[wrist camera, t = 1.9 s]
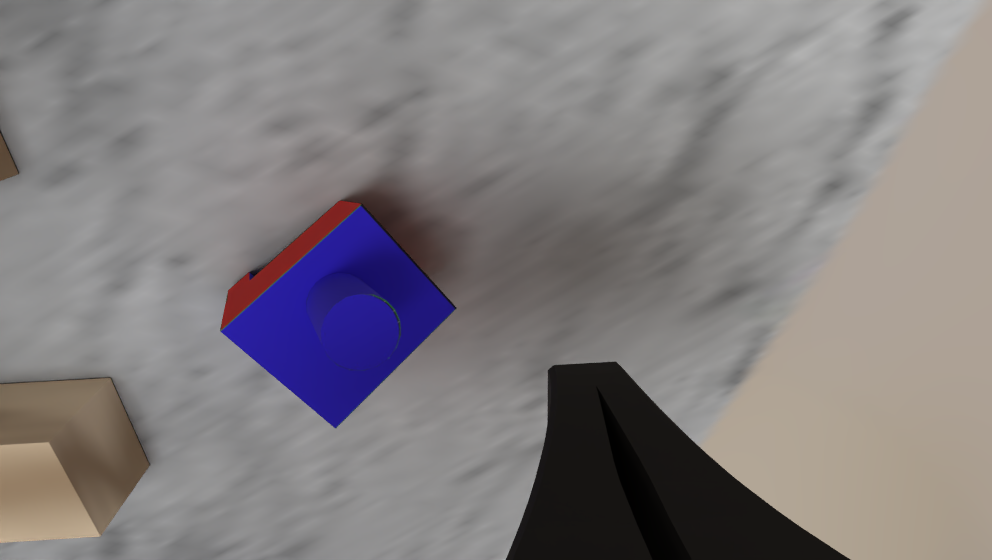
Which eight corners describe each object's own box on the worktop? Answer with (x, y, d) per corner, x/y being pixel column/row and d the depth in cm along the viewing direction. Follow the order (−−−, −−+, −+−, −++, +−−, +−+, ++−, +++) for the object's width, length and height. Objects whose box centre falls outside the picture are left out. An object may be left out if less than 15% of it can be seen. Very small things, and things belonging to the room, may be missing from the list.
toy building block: (405, 277, 19) (501, 334, 12) (312, 366, 18) (354, 485, 11) (331, 199, 17) (389, 207, 10) (227, 291, 17) (210, 371, 9)
